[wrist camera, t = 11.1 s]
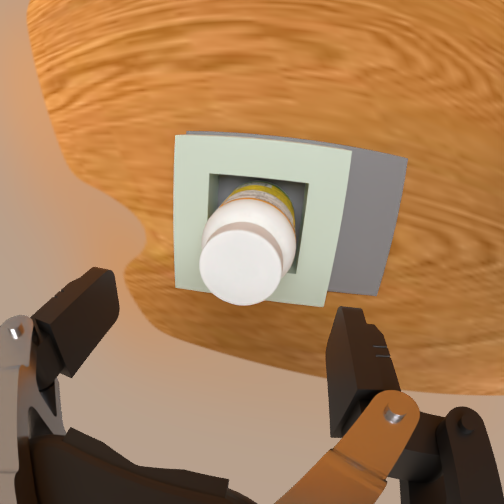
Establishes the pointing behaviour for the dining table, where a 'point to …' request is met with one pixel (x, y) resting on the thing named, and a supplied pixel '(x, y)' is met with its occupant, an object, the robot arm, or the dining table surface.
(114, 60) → the dining table surface
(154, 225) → the dining table surface
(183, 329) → the dining table surface
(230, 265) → the supplement bottle
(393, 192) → the socket board
